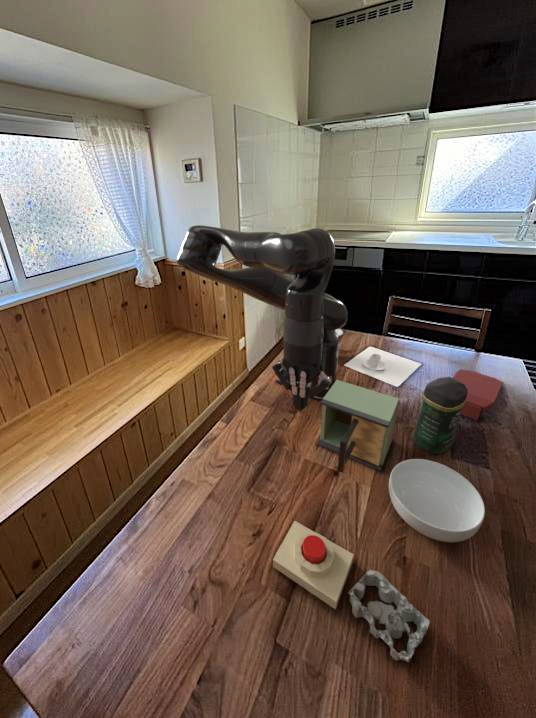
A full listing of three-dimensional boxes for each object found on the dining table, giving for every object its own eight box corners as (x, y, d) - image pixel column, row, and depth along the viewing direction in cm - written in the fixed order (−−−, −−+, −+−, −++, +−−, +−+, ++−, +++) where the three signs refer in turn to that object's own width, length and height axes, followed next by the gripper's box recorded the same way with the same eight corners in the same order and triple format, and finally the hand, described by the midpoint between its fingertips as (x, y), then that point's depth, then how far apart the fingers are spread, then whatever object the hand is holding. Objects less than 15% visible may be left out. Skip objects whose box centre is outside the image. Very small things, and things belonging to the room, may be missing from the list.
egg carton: (342, 604, 57) (344, 589, 55) (370, 575, 60) (372, 561, 59) (402, 674, 49) (406, 659, 47) (429, 636, 52) (434, 621, 51)
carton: (457, 380, 118) (437, 405, 101) (461, 367, 117) (441, 391, 100) (499, 394, 111) (485, 423, 93) (503, 380, 109) (490, 408, 92)
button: (298, 555, 61) (299, 549, 60) (308, 537, 64) (308, 530, 63) (319, 568, 59) (320, 562, 58) (328, 549, 61) (329, 542, 61)
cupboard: (317, 444, 89) (320, 402, 84) (333, 419, 98) (336, 379, 92) (380, 471, 81) (388, 425, 75) (391, 441, 89) (399, 398, 84)
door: (334, 479, 78) (338, 439, 73) (348, 451, 86) (353, 413, 81) (367, 495, 74) (374, 454, 69) (379, 463, 82) (386, 425, 77)
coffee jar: (437, 460, 83) (453, 399, 75) (407, 441, 89) (419, 382, 82) (458, 444, 87) (476, 384, 80) (429, 426, 94) (442, 370, 86)
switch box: (272, 566, 62) (272, 553, 61) (294, 527, 69) (294, 514, 68) (335, 609, 56) (337, 595, 54) (352, 561, 63) (354, 548, 61)
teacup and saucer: (370, 356, 129) (371, 347, 127) (391, 364, 124) (392, 354, 122) (359, 365, 124) (360, 356, 122) (379, 373, 118) (381, 364, 117)
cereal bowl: (441, 573, 60) (449, 548, 57) (368, 501, 74) (372, 478, 71) (495, 528, 67) (504, 504, 64) (419, 469, 81) (424, 447, 78)
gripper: (263, 335, 66) (264, 406, 73) (328, 352, 58) (322, 430, 65) (282, 321, 71) (281, 389, 78) (343, 336, 64) (336, 409, 71)
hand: (300, 407), depth 72 cm, fingers closed
